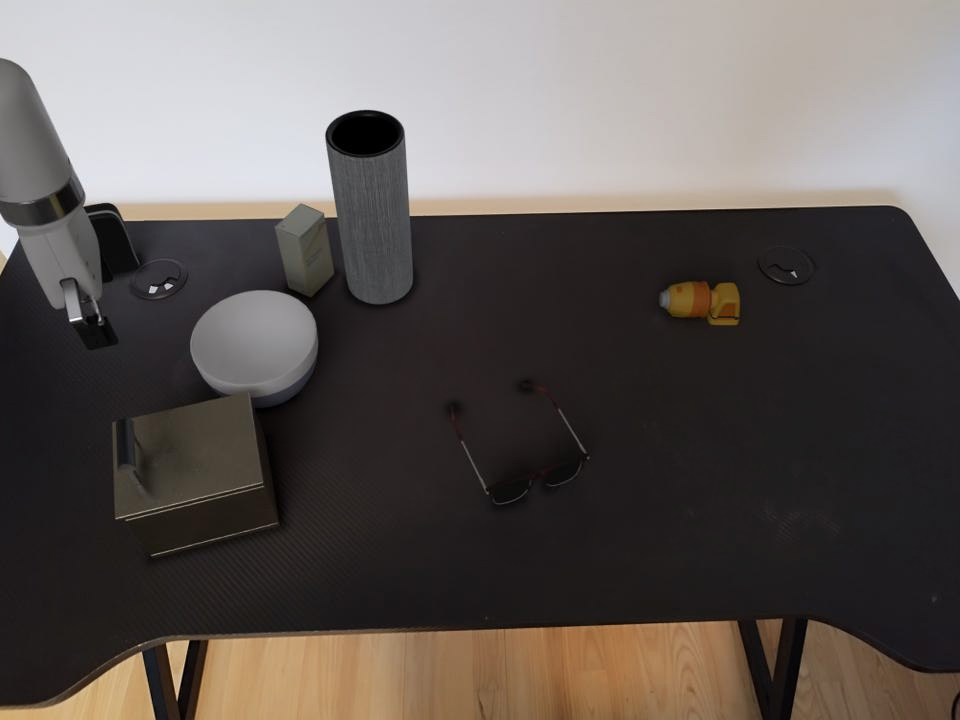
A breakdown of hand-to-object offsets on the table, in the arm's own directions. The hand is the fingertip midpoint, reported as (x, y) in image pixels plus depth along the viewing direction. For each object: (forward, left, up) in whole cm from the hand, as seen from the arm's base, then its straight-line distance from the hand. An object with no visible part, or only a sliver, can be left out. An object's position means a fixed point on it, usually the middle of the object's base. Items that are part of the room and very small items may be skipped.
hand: (101, 312), depth 88 cm
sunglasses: (+44, -16, -22) cm, 51 cm away
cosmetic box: (+24, +20, -22) cm, 37 cm away
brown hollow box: (+6, -13, -21) cm, 26 cm away
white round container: (+15, +3, -22) cm, 26 cm away
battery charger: (-4, +31, -22) cm, 38 cm away
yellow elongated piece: (+78, -2, -22) cm, 81 cm away
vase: (+34, +17, -22) cm, 43 cm away
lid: (+5, -13, -11) cm, 18 cm away
